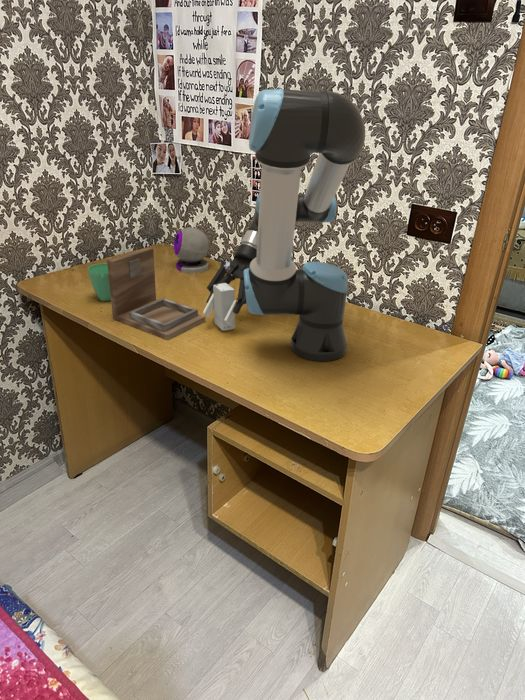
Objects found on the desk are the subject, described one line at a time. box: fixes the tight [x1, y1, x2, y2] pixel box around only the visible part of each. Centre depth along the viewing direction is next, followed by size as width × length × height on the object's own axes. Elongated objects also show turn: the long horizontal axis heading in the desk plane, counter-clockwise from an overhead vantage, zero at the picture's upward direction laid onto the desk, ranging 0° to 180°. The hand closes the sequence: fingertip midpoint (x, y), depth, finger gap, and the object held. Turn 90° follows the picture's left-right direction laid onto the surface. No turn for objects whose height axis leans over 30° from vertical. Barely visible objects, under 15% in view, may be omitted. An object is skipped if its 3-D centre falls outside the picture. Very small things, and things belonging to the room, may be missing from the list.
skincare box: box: [213, 283, 236, 331], centre depth 151 cm, size 6×4×12 cm
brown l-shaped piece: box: [106, 247, 206, 341], centre depth 153 cm, size 22×16×18 cm
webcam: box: [173, 226, 210, 274], centre depth 196 cm, size 13×13×15 cm
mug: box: [87, 262, 111, 302], centre depth 169 cm, size 15×10×10 cm
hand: (216, 318), depth 150 cm, fingers closed on skincare box, 7 cm apart
